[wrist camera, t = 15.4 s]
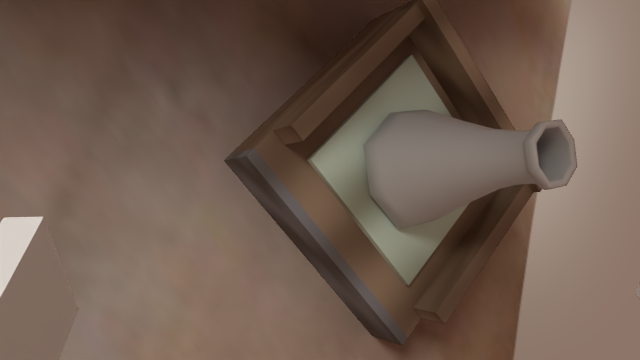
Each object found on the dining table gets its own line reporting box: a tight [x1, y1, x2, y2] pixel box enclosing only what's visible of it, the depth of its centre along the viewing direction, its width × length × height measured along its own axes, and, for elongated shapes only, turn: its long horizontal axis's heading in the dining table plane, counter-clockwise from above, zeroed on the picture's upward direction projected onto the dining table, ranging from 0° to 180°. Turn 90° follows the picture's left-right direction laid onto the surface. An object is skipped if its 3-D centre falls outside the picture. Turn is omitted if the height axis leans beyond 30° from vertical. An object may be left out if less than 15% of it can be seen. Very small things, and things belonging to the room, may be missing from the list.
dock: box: [224, 0, 542, 345], centre depth 34 cm, size 15×15×6 cm
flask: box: [363, 110, 577, 229], centre depth 29 cm, size 7×7×10 cm
